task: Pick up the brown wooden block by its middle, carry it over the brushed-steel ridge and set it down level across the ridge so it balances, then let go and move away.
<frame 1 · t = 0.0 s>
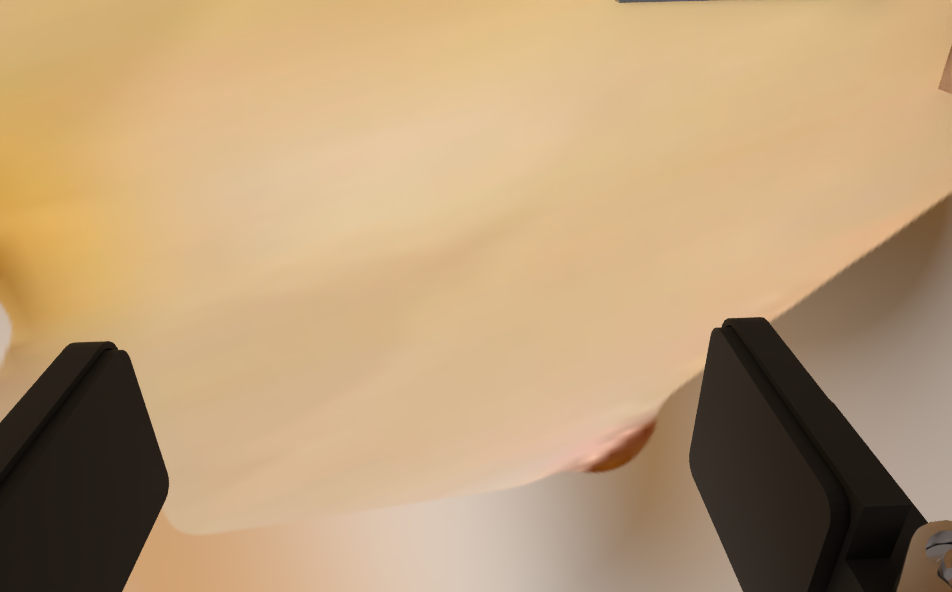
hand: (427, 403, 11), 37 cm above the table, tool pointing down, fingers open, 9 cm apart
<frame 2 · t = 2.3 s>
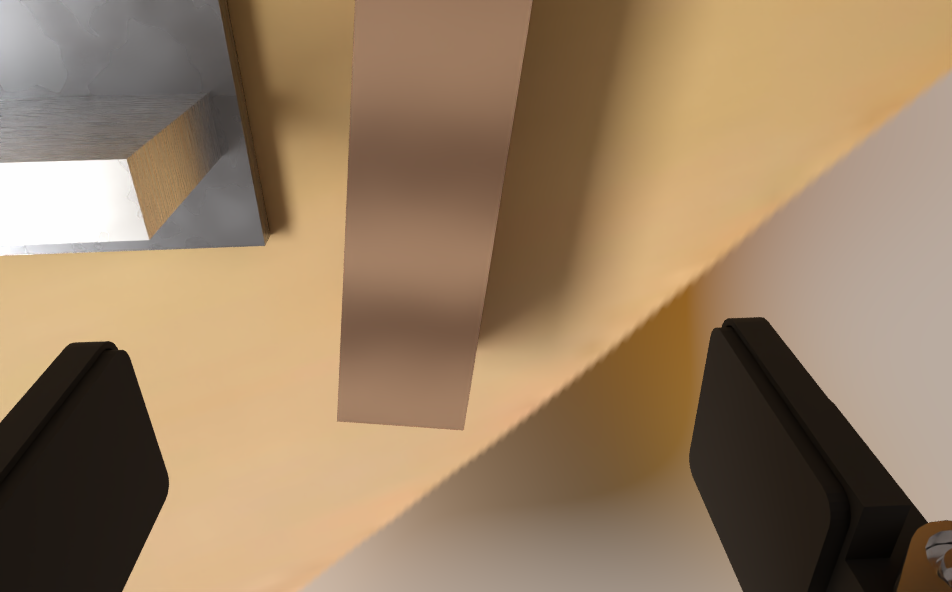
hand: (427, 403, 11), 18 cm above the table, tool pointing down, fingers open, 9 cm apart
ridge stand: (10, 125, 26), on the table
brown wooden block: (430, 110, 27), on the table
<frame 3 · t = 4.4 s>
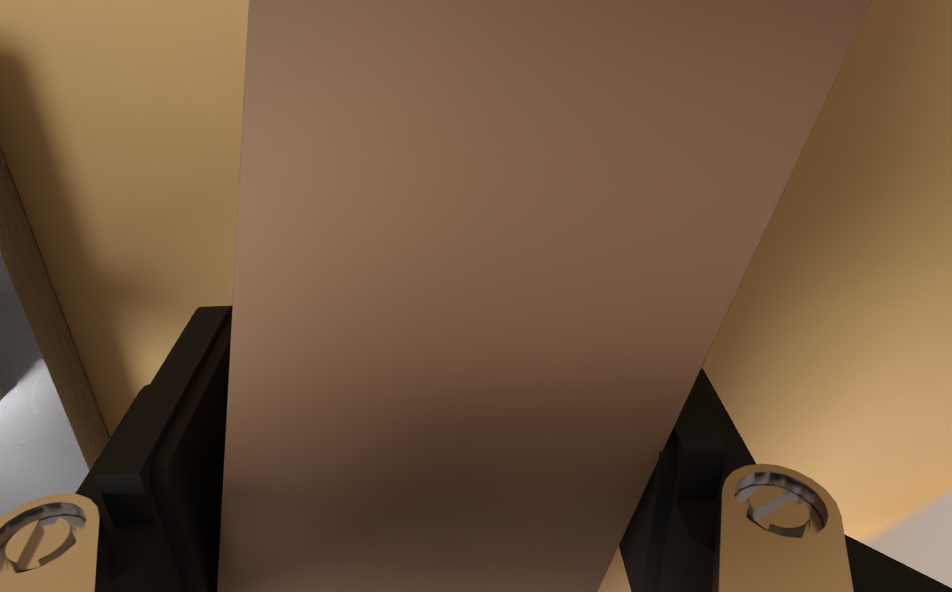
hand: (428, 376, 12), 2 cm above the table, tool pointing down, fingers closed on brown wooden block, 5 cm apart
brown wooden block: (431, 303, 14), on the table, touching gripper
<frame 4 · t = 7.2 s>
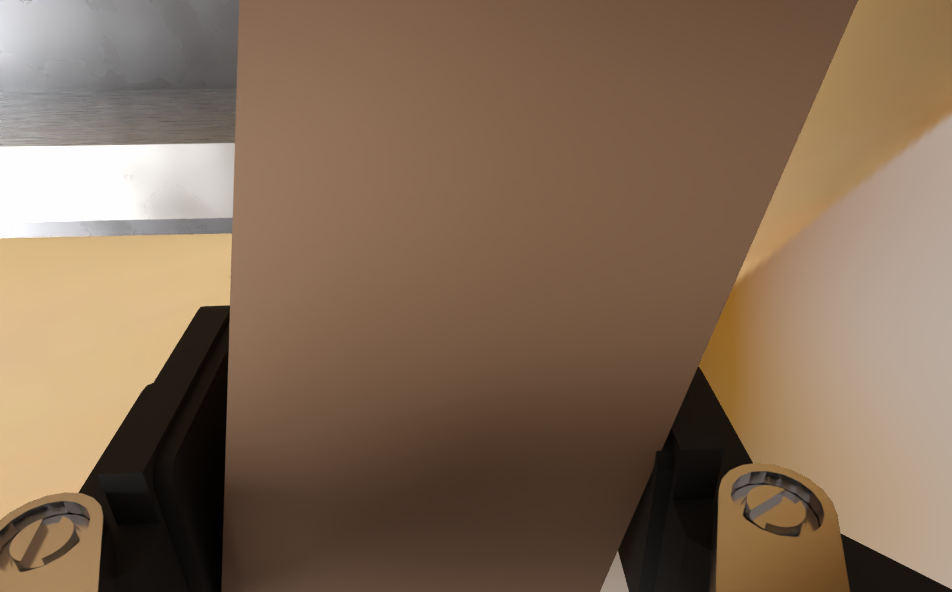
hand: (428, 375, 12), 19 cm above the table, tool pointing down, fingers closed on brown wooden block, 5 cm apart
ridge stand: (127, 114, 28), on the table
brown wooden block: (432, 305, 14), point 17 cm above the table, touching gripper
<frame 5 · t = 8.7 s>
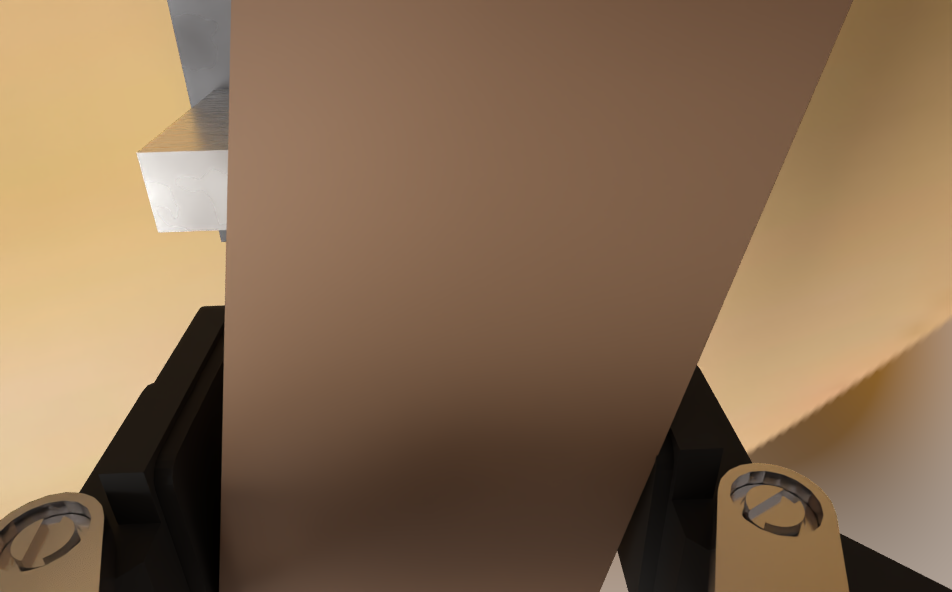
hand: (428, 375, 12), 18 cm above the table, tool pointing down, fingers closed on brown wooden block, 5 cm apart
ridge stand: (432, 108, 27), on the table
brown wooden block: (430, 307, 14), point 15 cm above the table, touching gripper
when the fingers open (12 cm above the table, at t = 10.1 s): brown wooden block stays where it is, resting on ridge stand.
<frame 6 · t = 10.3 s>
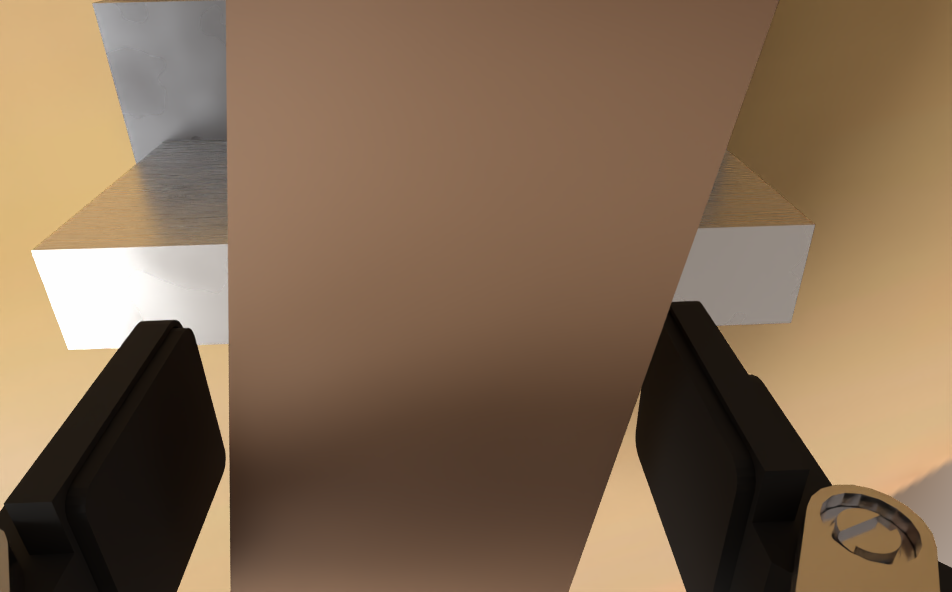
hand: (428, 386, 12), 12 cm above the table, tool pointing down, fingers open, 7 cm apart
ridge stand: (436, 160, 22), on the table
brown wooden block: (427, 288, 15), point 8 cm above the table, touching ridge stand
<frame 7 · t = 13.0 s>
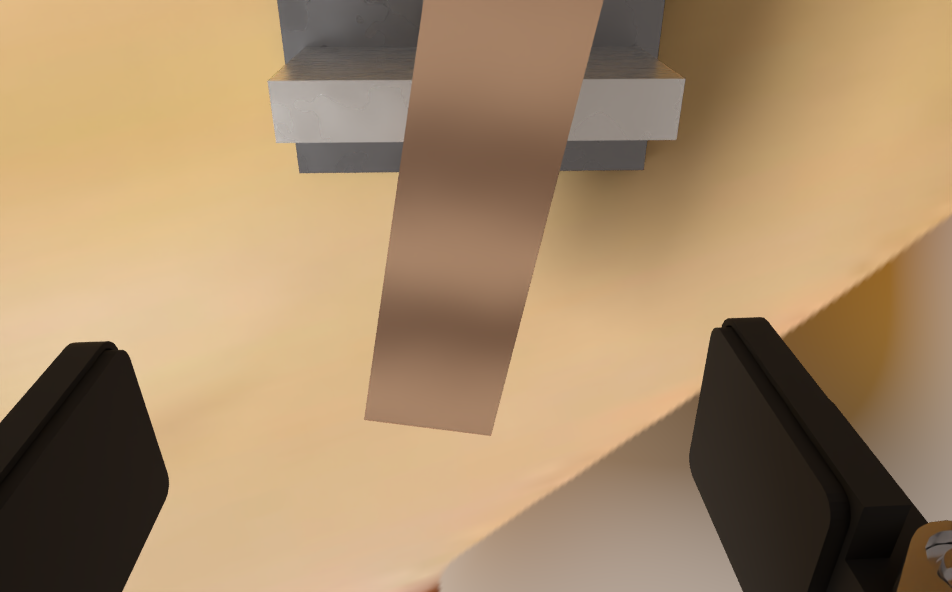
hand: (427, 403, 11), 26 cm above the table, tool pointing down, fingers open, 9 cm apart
ridge stand: (472, 68, 34), on the table
brown wooden block: (475, 110, 27), point 8 cm above the table, touching ridge stand
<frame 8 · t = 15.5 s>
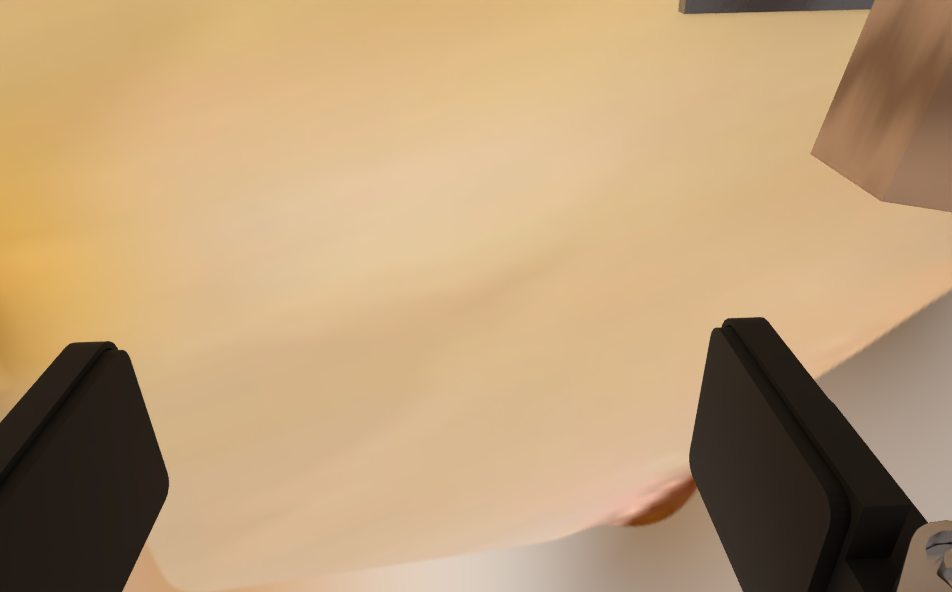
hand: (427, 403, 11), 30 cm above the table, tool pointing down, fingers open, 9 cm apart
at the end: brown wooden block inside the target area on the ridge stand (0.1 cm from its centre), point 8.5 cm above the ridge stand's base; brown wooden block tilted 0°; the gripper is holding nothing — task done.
